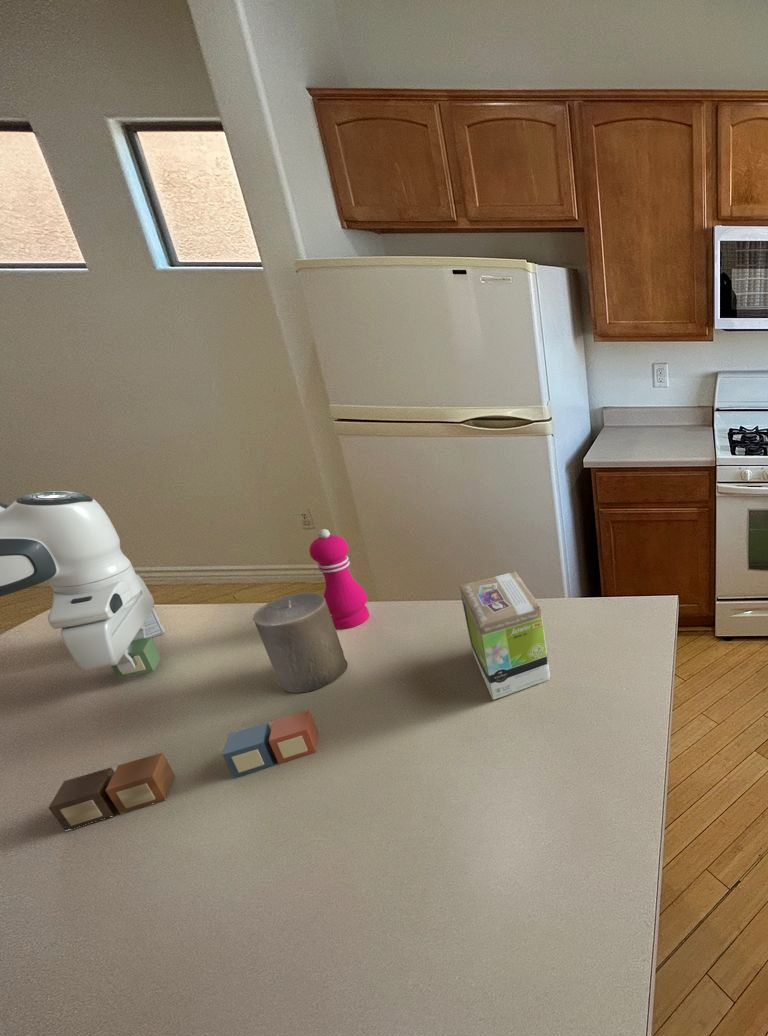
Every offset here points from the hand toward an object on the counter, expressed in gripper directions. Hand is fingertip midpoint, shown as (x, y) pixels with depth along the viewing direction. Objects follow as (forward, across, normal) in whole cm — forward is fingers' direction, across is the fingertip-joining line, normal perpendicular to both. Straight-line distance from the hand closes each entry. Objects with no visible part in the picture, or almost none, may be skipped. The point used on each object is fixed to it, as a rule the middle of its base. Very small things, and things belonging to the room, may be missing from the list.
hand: (135, 659), depth 93 cm
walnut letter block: (+3, +32, +3) cm, 32 cm away
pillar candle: (+3, +14, +25) cm, 29 cm away
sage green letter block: (+2, 0, 0) cm, 2 cm away
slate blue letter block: (+3, +32, +20) cm, 38 cm away
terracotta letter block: (+3, +32, +25) cm, 41 cm away
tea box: (+3, +28, +55) cm, 62 cm away
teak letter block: (+3, +32, +8) cm, 33 cm away
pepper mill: (+3, -2, +30) cm, 31 cm away
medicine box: (+4, -14, -4) cm, 15 cm away
